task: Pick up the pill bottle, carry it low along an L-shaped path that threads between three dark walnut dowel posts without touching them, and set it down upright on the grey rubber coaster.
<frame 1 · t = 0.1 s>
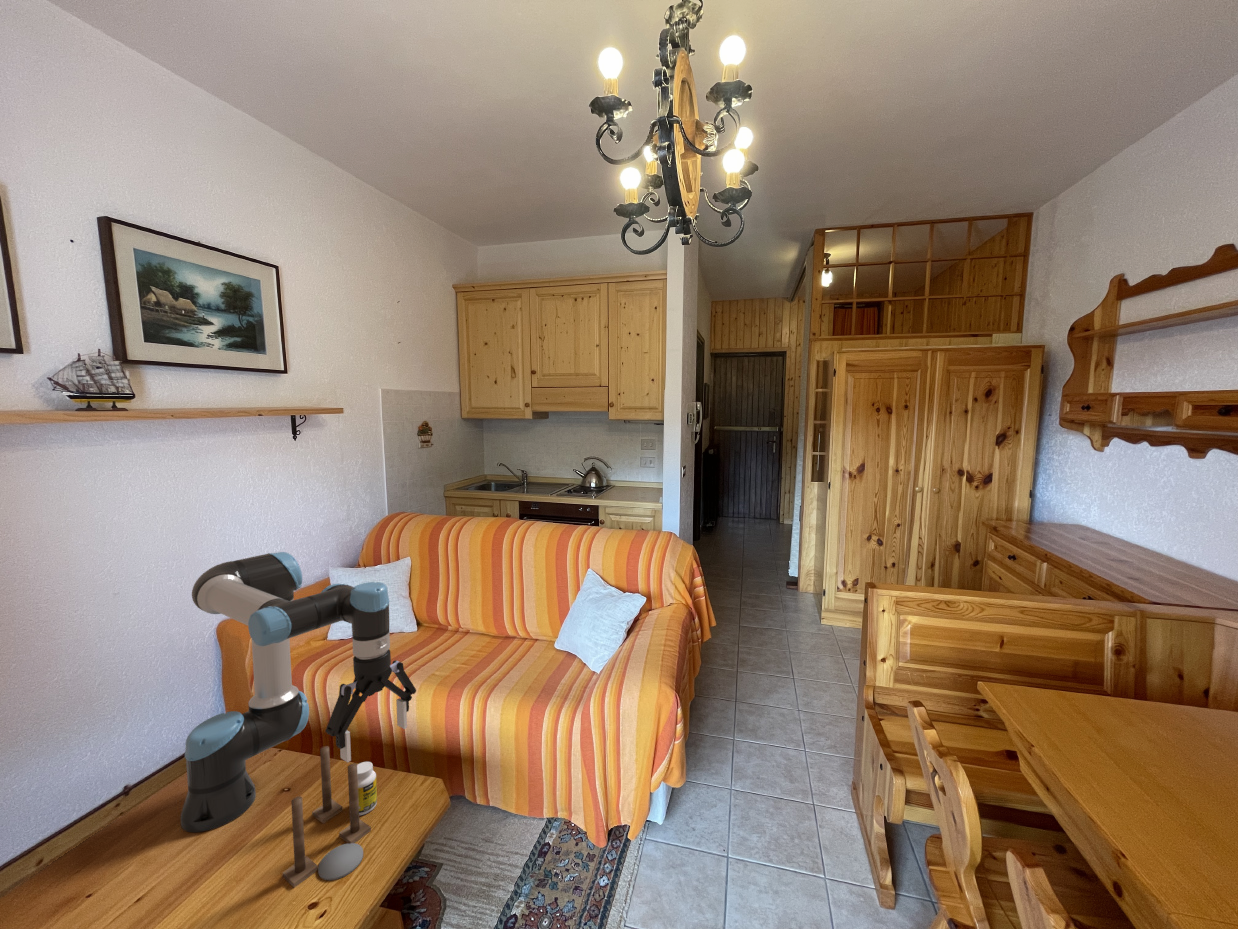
hand: (375, 742, 111), 28 cm above the table, fingers open, 13 cm apart
post corner: (355, 833, 119), on the table
pill bottle: (364, 808, 128), on the table
post b: (300, 873, 109), on the table
coaster: (341, 862, 111), on the table
post a: (327, 812, 126), on the table
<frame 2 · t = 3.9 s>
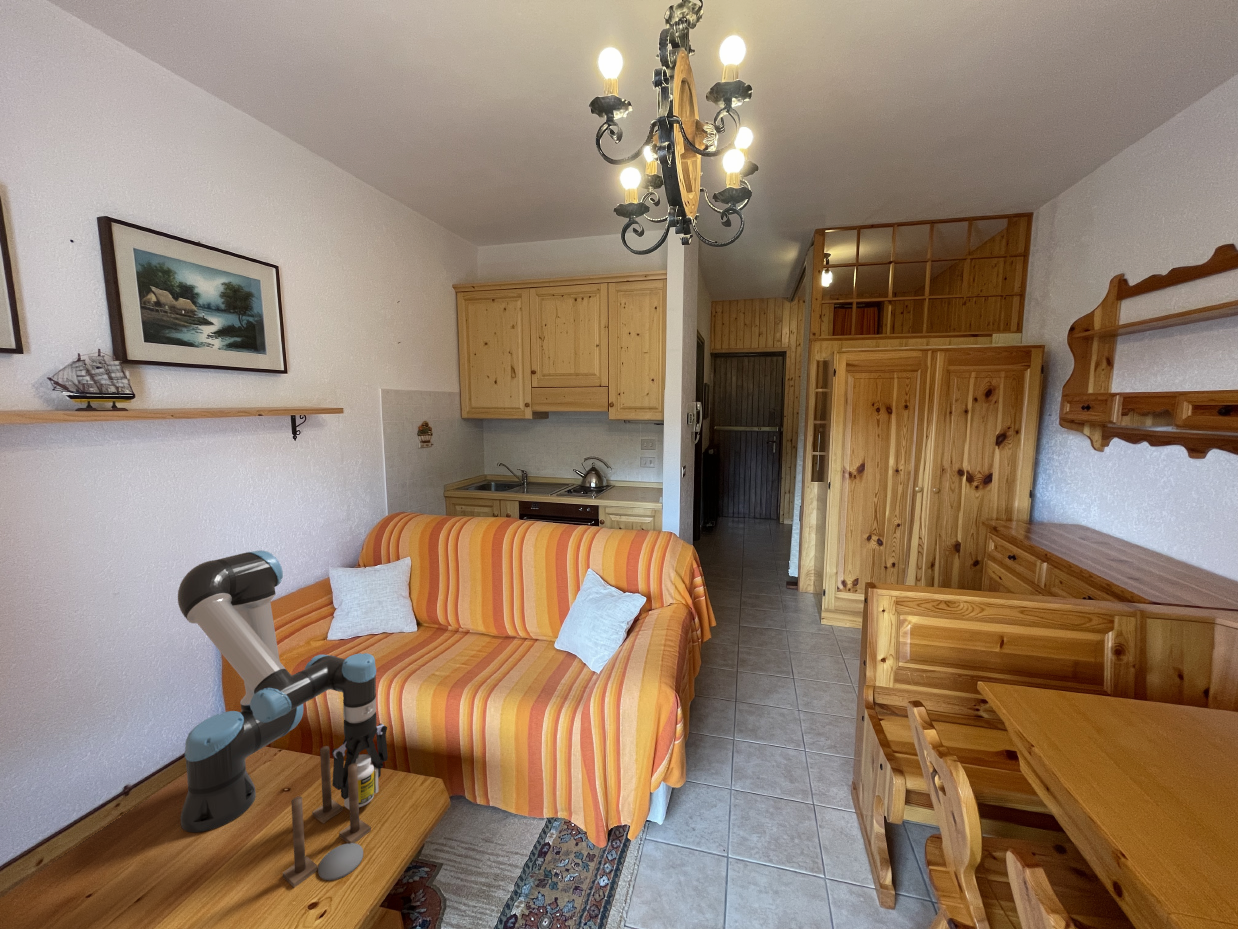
hand: (361, 798, 128), 2 cm above the table, fingers closed on pill bottle, 6 cm apart
pill bottle: (361, 800, 128), point 2 cm above the table, touching gripper
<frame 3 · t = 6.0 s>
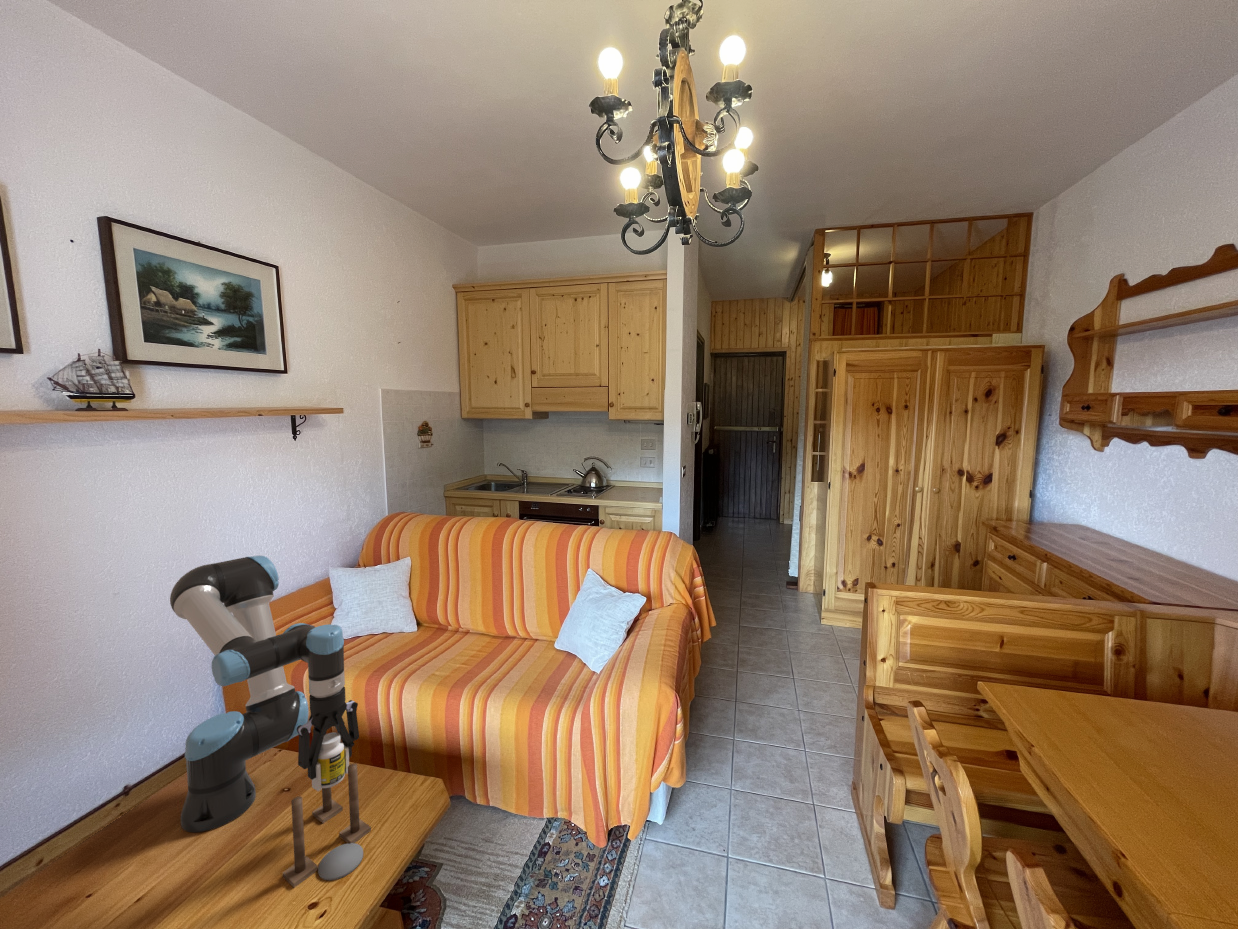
hand: (331, 779, 120), 13 cm above the table, fingers closed on pill bottle, 6 cm apart
pill bottle: (330, 781, 120), point 12 cm above the table, touching gripper
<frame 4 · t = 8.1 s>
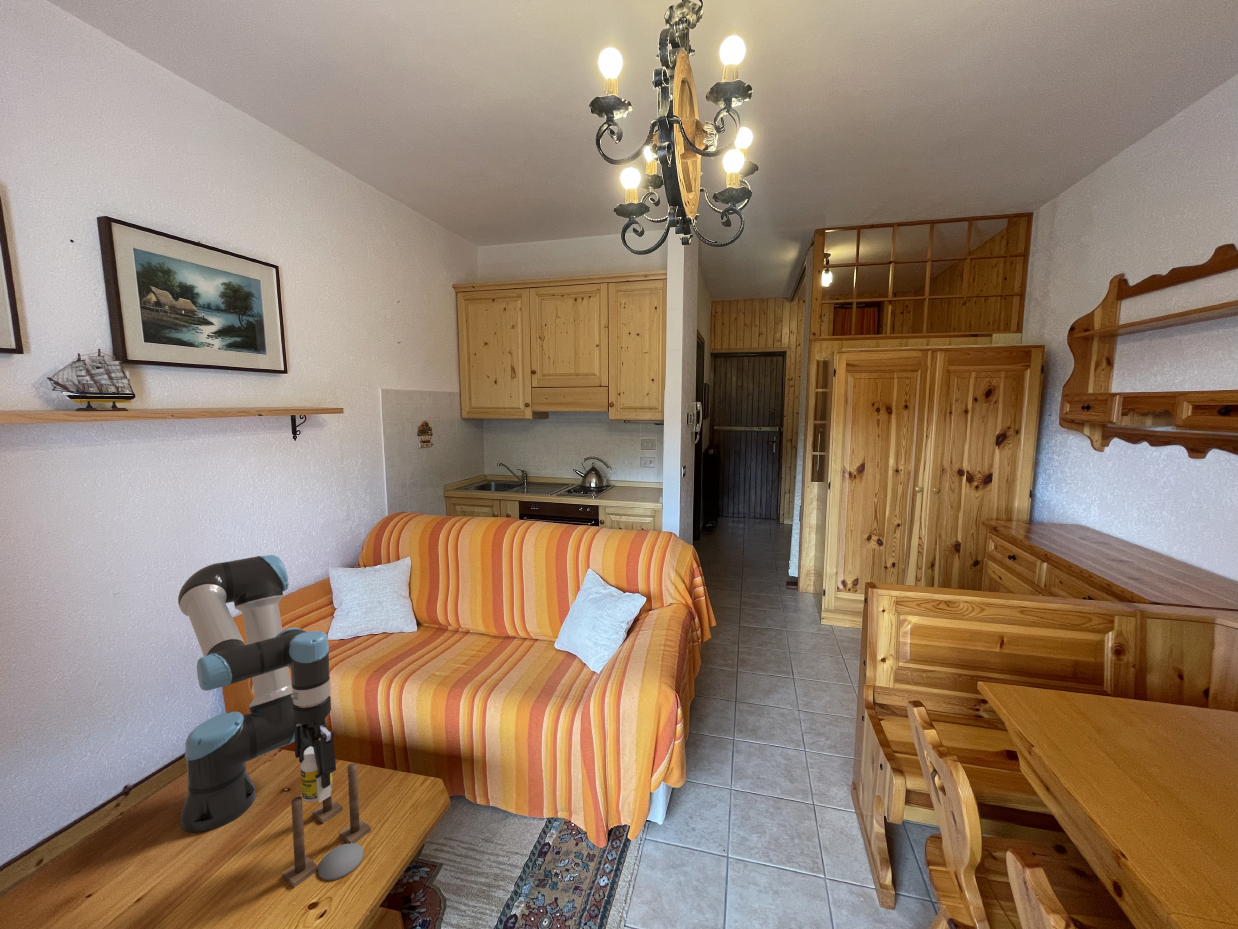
hand: (316, 792, 115), 13 cm above the table, fingers closed on pill bottle, 6 cm apart
pill bottle: (317, 794, 115), point 13 cm above the table, touching gripper
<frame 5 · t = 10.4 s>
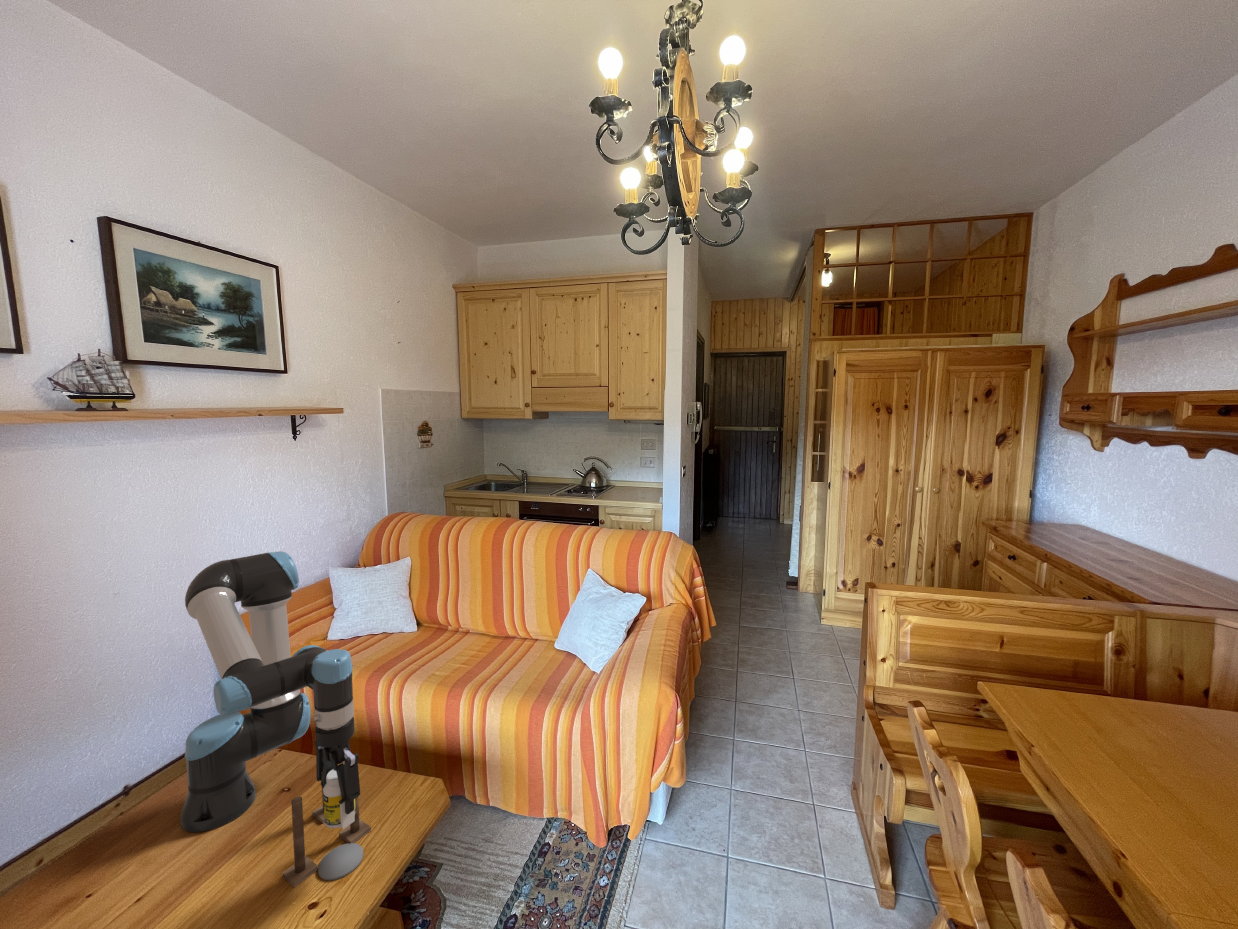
hand: (339, 818, 110), 11 cm above the table, fingers closed on pill bottle, 6 cm apart
pill bottle: (340, 819, 111), point 10 cm above the table, touching gripper
when the fingers open (2 cm above the table, at t = 12.2 s): pill bottle stays where it is, resting on coaster.
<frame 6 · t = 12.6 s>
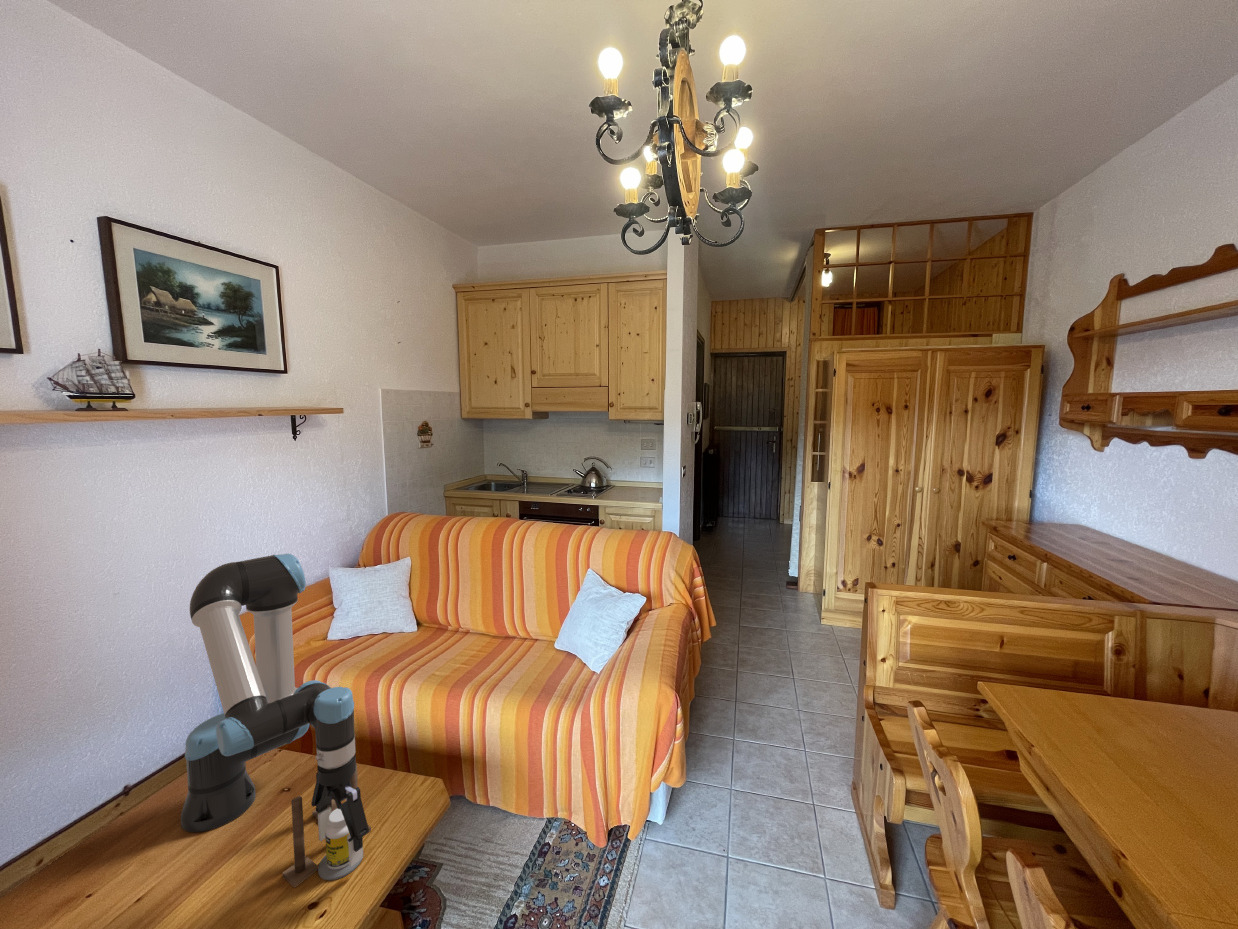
hand: (340, 848, 111), 3 cm above the table, fingers open, 12 cm apart
pill bottle: (342, 859, 112), resting on coaster
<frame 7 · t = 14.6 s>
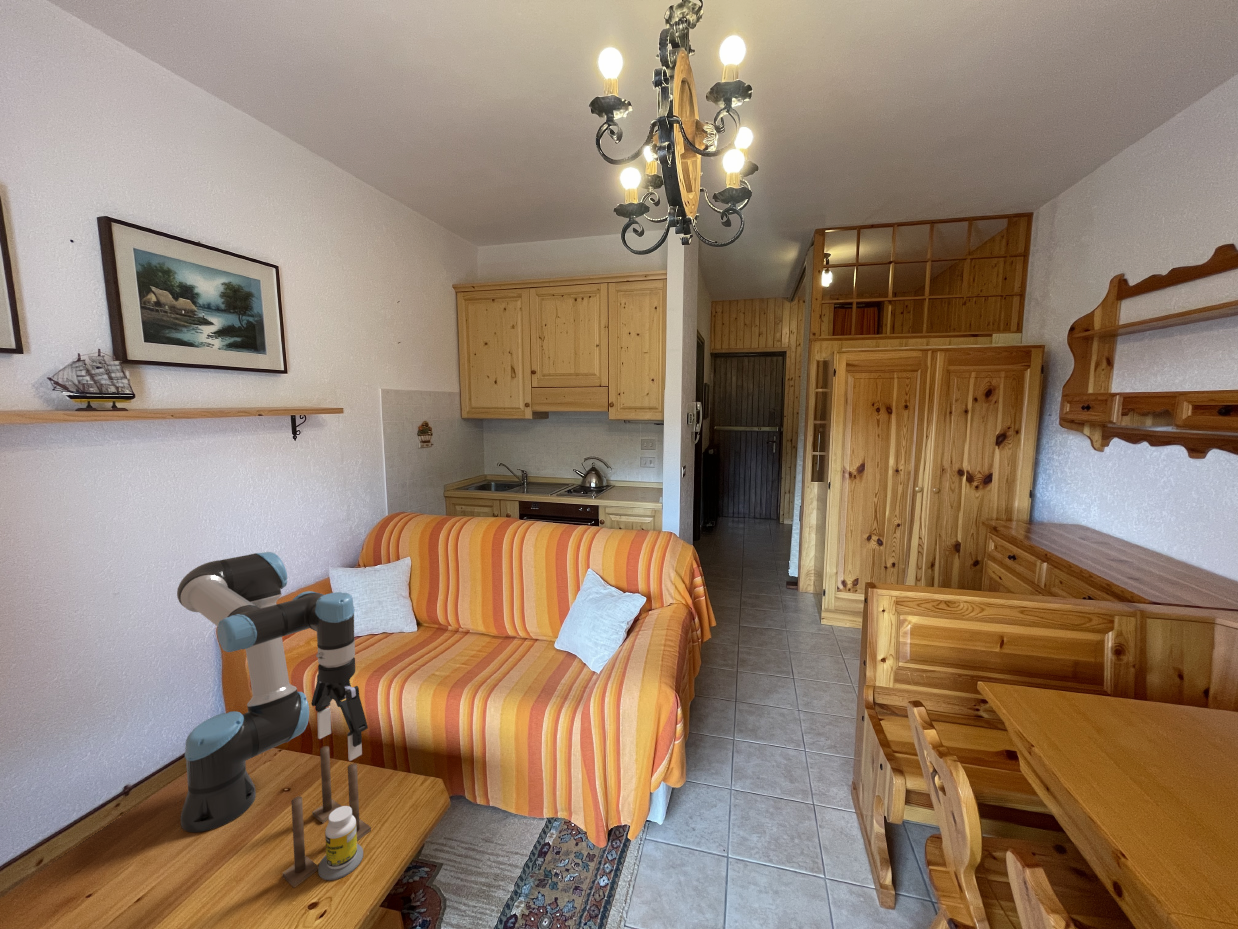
hand: (339, 746, 115), 24 cm above the table, fingers open, 13 cm apart
nothing on the table moved.
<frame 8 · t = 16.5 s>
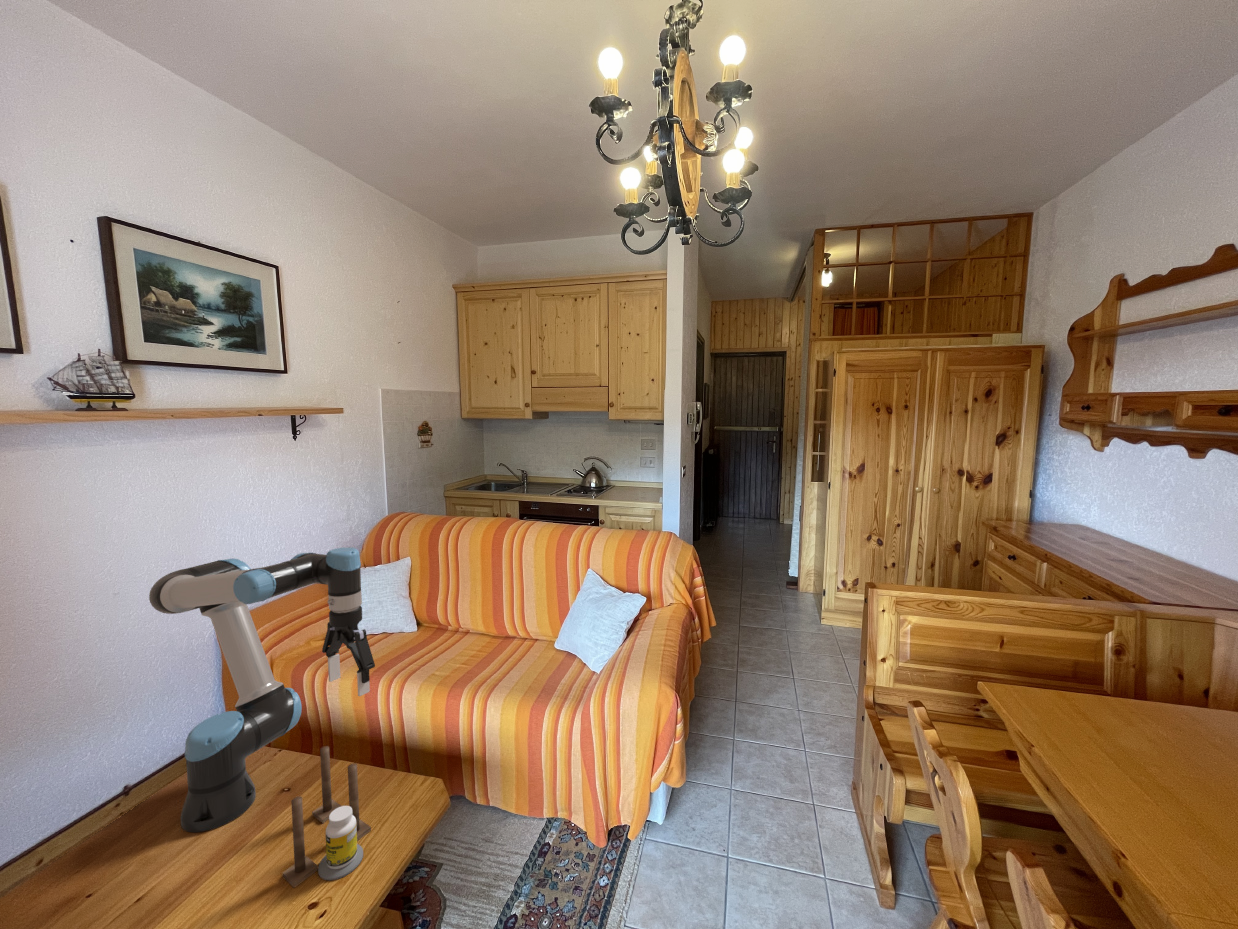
hand: (348, 686, 128), 32 cm above the table, fingers open, 13 cm apart
nothing on the table moved.
at the end: pill bottle inside the target area on the coaster (0.2 cm from its centre), point 0.4 cm above the coaster's base; pill bottle tilted 1°; the gripper is holding nothing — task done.
